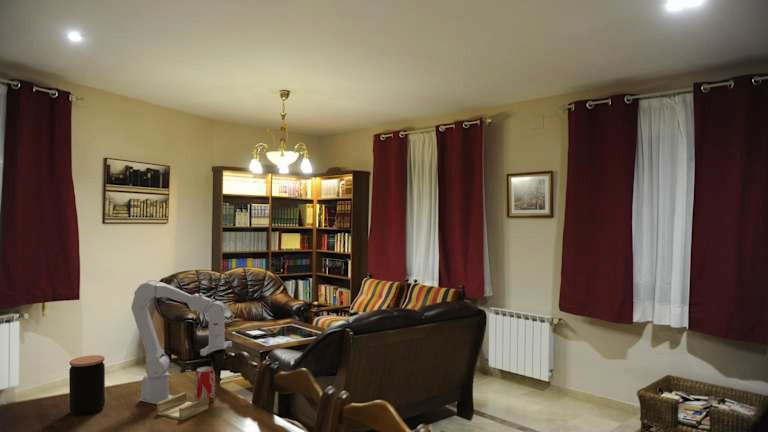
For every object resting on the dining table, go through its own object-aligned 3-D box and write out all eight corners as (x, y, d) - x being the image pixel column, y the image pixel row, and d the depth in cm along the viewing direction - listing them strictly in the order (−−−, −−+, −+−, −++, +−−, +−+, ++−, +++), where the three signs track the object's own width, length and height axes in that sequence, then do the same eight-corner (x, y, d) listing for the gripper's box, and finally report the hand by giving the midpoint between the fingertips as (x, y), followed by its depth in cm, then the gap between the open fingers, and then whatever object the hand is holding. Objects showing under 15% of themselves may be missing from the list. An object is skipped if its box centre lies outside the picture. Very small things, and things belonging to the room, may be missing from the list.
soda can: (208, 405, 182) (208, 372, 182) (190, 404, 183) (190, 371, 183) (218, 398, 189) (218, 366, 189) (201, 397, 190) (201, 365, 190)
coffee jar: (111, 407, 180) (111, 357, 180) (82, 418, 171) (82, 365, 171) (91, 403, 185) (91, 353, 185) (62, 413, 175) (62, 361, 175)
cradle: (156, 414, 174) (156, 403, 174) (183, 402, 185) (183, 392, 185) (182, 420, 169) (182, 408, 169) (208, 408, 180) (208, 397, 180)
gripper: (210, 339, 183) (210, 376, 183) (238, 330, 196) (238, 365, 196) (195, 337, 186) (196, 374, 186) (224, 329, 199) (224, 363, 200)
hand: (216, 369), depth 192 cm, fingers closed
